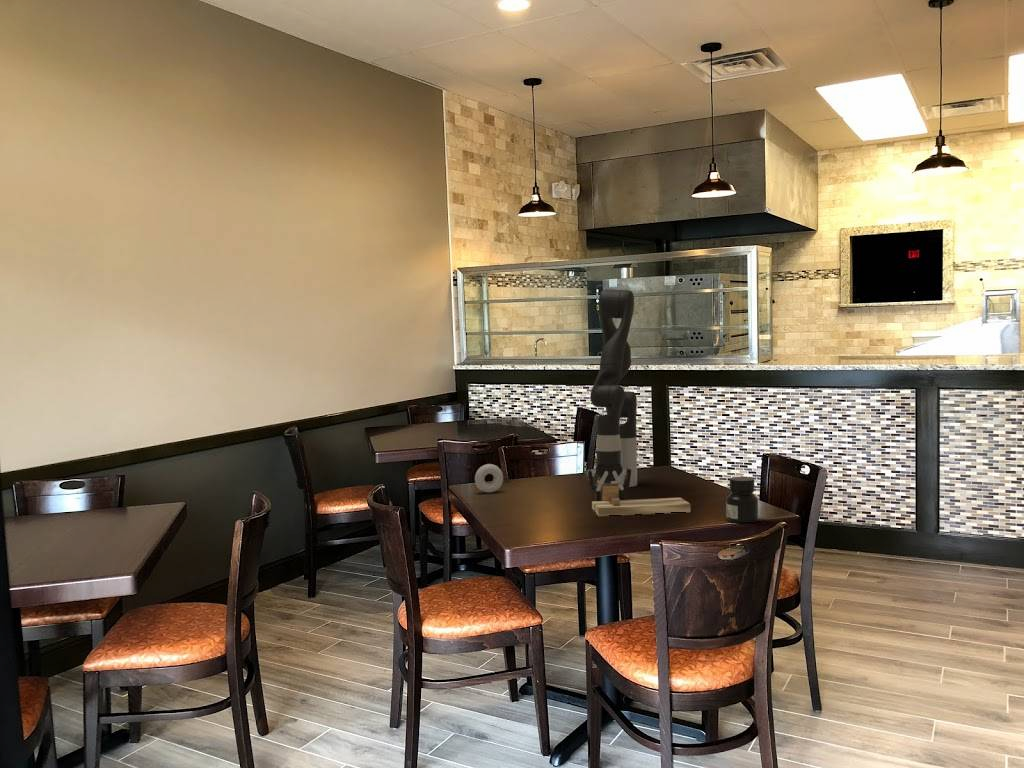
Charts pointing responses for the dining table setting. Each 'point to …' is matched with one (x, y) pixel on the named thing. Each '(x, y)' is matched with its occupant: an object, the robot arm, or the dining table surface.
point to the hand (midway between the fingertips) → (609, 501)
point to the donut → (483, 472)
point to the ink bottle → (742, 501)
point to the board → (641, 506)
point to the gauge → (610, 493)
